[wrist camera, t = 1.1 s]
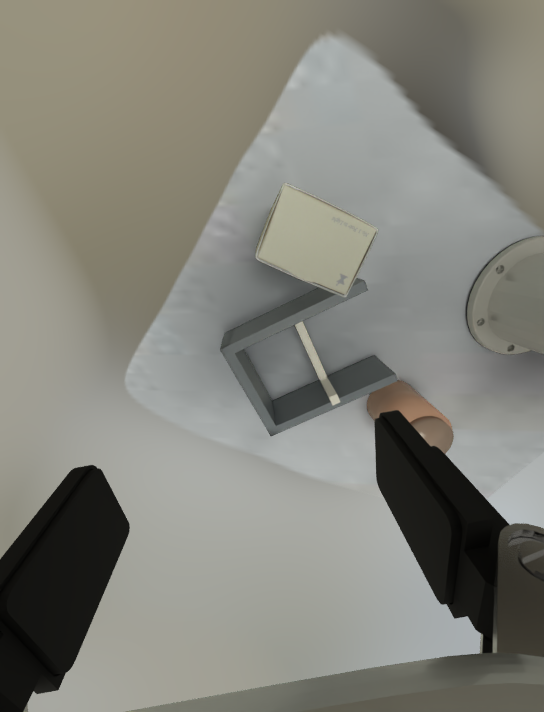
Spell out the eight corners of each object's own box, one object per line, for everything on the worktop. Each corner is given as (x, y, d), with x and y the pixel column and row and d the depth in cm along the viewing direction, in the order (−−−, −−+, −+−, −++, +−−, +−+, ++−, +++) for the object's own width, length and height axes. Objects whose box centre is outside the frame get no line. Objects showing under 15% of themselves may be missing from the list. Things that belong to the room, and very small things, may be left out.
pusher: (297, 312, 29) (308, 328, 24) (325, 376, 32) (341, 404, 27) (290, 315, 29) (299, 332, 24) (319, 379, 32) (333, 407, 27)
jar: (407, 372, 34) (451, 407, 26) (419, 410, 36) (462, 452, 28) (360, 392, 34) (390, 432, 27) (374, 429, 36) (406, 475, 29)
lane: (345, 274, 29) (364, 280, 24) (376, 361, 33) (397, 381, 28) (224, 333, 30) (219, 349, 25) (267, 410, 34) (270, 436, 29)
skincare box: (329, 234, 27) (386, 227, 16) (309, 278, 29) (348, 300, 17) (269, 205, 26) (284, 176, 15) (251, 253, 27) (253, 259, 16)
